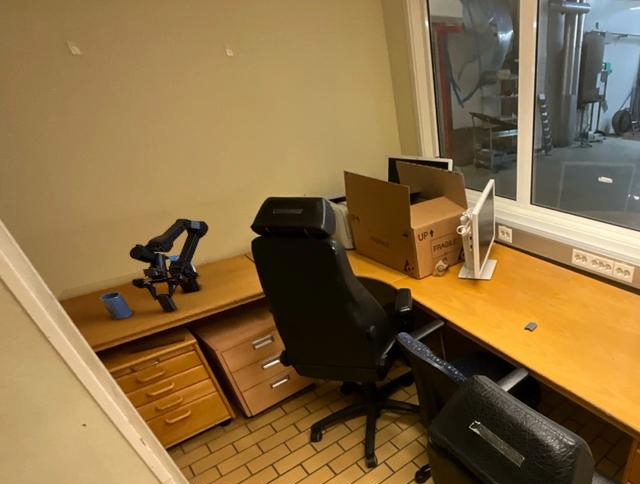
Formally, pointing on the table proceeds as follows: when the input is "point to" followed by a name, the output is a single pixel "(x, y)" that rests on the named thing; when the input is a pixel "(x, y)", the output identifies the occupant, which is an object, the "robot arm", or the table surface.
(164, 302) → the ink cartridge
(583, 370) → the table surface
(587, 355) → the table surface
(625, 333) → the table surface
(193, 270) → the tape cartridge
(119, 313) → the pen cup
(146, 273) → the robot arm
